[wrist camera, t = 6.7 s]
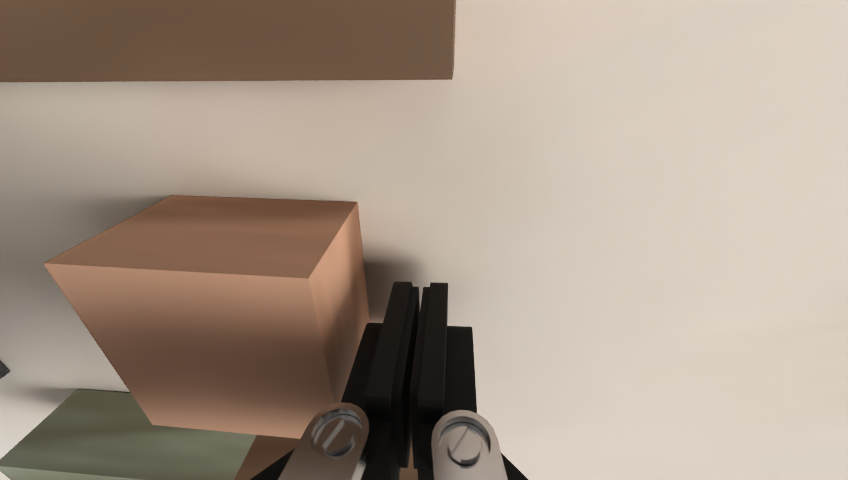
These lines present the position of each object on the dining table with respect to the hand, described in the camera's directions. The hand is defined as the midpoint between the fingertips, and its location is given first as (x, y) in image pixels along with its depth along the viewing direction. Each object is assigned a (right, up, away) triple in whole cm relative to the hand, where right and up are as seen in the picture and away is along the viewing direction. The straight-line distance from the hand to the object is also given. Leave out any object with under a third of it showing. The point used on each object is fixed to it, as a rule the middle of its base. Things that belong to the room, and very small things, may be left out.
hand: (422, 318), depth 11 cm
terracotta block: (-5, +1, +1) cm, 5 cm away
